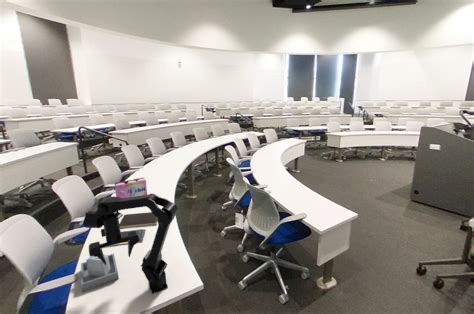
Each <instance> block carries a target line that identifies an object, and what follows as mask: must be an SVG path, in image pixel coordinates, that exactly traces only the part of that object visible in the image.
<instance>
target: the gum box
mask: <svg viewBox="0 0 474 314" xmlns="http://www.w3.org/2000/svg"><path fill="white" fill-rule="evenodd" d="M113 185H114V190H115V197H120V198H128V197H135V196H142V195H148V190H147V188H148V187H147V179H146V178H145V177H139V178H134V179H130V180H124V181H119V182H114V184H113Z"/></svg>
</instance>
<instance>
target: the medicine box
mask: <svg viewBox="0 0 474 314" xmlns="http://www.w3.org/2000/svg"><path fill="white" fill-rule="evenodd" d="M108 255H109V254H104V257H105V260H106V265H105V264H104V263H103V262H102V261H101V259H99V258H98V257H94V256H90V255H89V256H88V258H87V259H85V262H86V263H87V268H88V273H89V276H105V275H107V274H108V273H109V272H110V270H111V269H110V264H109V258H108Z"/></svg>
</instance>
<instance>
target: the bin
mask: <svg viewBox="0 0 474 314" xmlns="http://www.w3.org/2000/svg"><path fill="white" fill-rule="evenodd" d="M107 255H108V258H109V264H110V269H111V270H110V272H109V273H108V274H107V275H105V276H89V273H88V268H87V263H86V261H85V262H82V263H80V286H81V291H82V292H85V291H88V290H91V289H94V288H98V287H100V286H102V285H103V286H104V285H106V284H109V283H111V281H112V282H114V281H118V280H119V271H118V267H117V261H116V257H115V253H111V254H107Z"/></svg>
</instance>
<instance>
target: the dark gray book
mask: <svg viewBox="0 0 474 314" xmlns="http://www.w3.org/2000/svg"><path fill="white" fill-rule="evenodd" d="M133 231H137V233H138V236H139V242H136V243H137V244H141V243H143V241H144V239H143V238H145V235H146V229H144V228H143V229H133V230H125V231H121V237H122V238H123V237H127V236H128V235H127V233H130V232H133ZM126 245H127V246H128V241H126V242H123V243H119V244H116V245H113V246H109V247H106V248H112V247H113V248H114V247H121V246H126ZM106 248H105V249H106Z"/></svg>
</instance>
